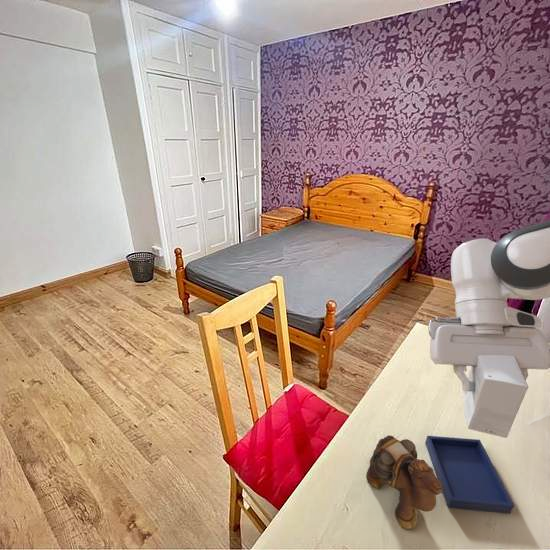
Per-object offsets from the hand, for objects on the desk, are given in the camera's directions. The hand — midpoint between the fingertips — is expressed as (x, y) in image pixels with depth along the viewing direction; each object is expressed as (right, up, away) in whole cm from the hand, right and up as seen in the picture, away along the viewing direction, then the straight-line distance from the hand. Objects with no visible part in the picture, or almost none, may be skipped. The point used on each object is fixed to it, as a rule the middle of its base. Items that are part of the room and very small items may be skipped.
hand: (493, 392), depth 56 cm
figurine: (-16, -22, +5) cm, 28 cm away
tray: (-1, -20, +7) cm, 21 cm away
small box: (0, -6, +4) cm, 7 cm away
